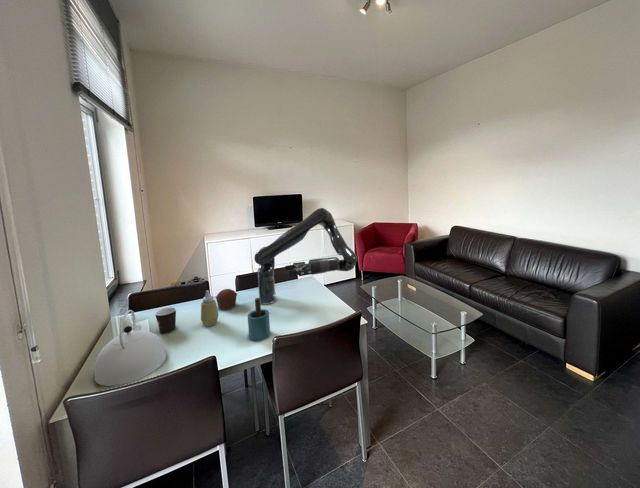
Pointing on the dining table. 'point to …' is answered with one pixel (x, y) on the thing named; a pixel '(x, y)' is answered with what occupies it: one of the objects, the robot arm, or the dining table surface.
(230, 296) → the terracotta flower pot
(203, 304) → the squeeze bottle
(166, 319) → the coffee mug
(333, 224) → the robot arm
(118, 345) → the kettle
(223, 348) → the dining table surface
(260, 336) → the jar
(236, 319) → the dining table surface
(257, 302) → the dowel
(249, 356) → the dining table surface
